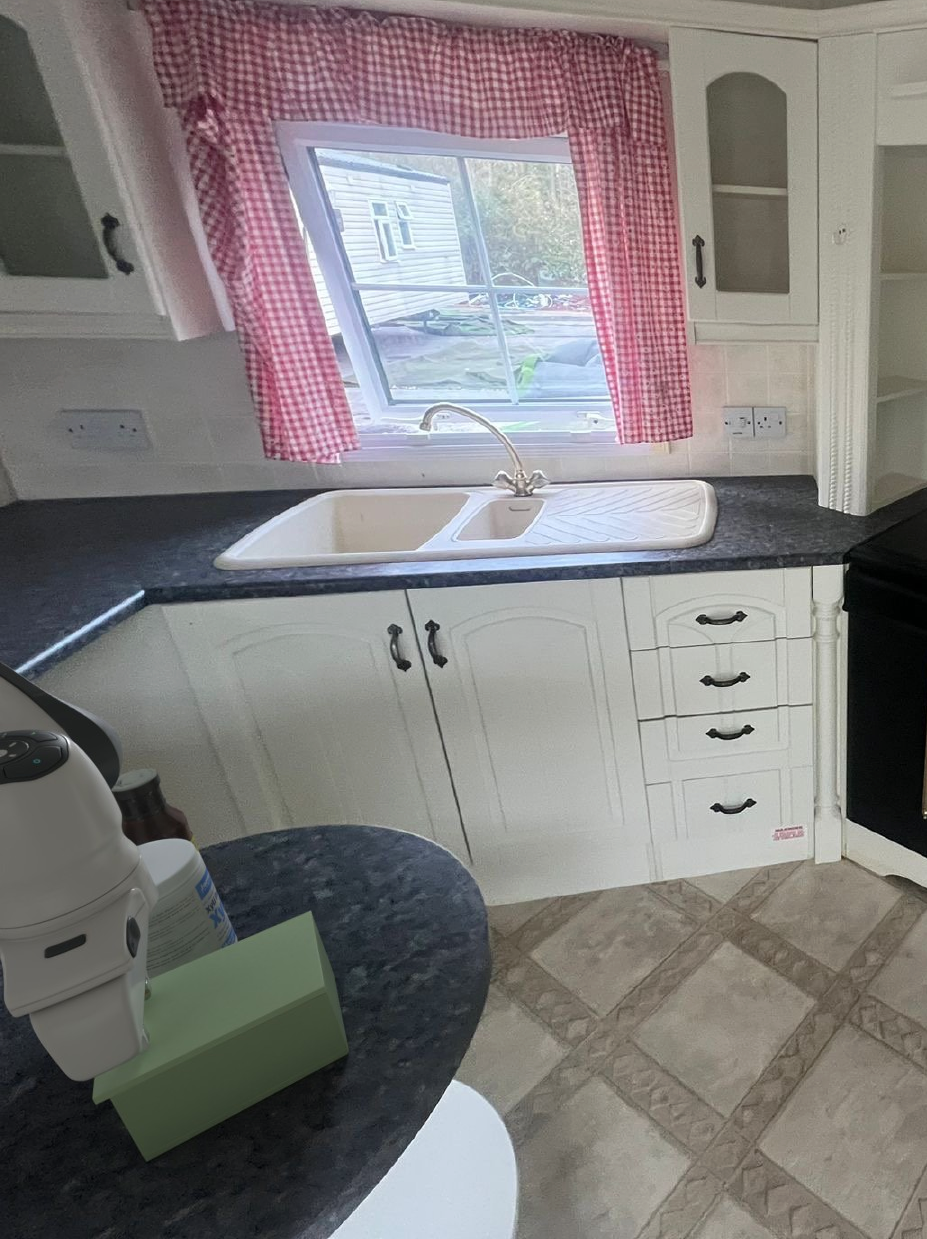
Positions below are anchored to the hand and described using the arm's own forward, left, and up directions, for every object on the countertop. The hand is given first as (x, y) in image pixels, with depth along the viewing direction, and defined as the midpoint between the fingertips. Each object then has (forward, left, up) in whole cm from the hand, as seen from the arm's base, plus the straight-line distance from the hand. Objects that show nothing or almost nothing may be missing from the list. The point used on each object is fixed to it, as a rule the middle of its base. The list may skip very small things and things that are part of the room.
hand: (138, 1023), depth 66 cm
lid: (+5, 0, -1) cm, 5 cm away
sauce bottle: (0, +27, -10) cm, 29 cm away
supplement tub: (0, +17, -10) cm, 20 cm away
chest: (+5, 0, -10) cm, 11 cm away
